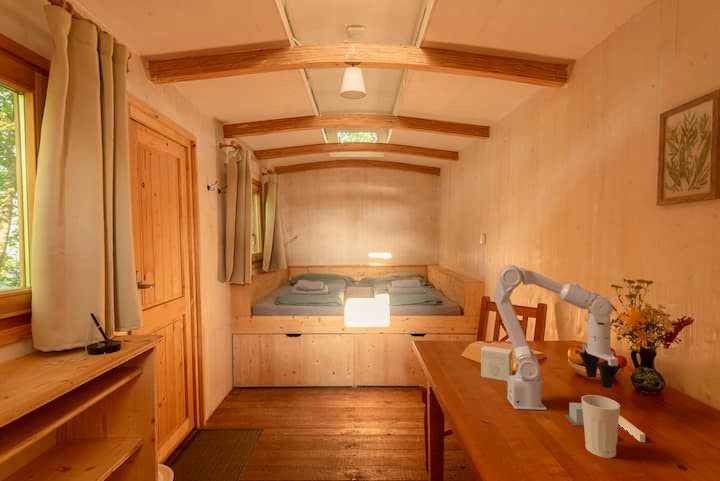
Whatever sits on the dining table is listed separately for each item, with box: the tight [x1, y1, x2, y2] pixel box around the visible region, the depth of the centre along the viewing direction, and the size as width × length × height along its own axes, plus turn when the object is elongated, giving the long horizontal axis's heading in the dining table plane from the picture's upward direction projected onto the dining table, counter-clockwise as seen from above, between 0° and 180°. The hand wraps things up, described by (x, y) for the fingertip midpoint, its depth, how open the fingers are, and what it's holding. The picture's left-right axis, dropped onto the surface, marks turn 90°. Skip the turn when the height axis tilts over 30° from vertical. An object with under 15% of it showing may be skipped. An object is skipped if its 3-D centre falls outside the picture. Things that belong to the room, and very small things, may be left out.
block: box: [568, 402, 584, 423], centre depth 104 cm, size 4×4×4 cm
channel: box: [618, 414, 646, 443], centre depth 100 cm, size 8×14×2 cm, turn 176°
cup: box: [580, 394, 621, 459], centre depth 89 cm, size 8×8×12 cm
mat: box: [564, 414, 584, 427], centre depth 104 cm, size 6×6×1 cm
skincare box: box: [480, 345, 513, 383], centre depth 137 cm, size 10×6×10 cm, turn 58°
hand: (598, 381), depth 107 cm, fingers open, 7 cm apart
